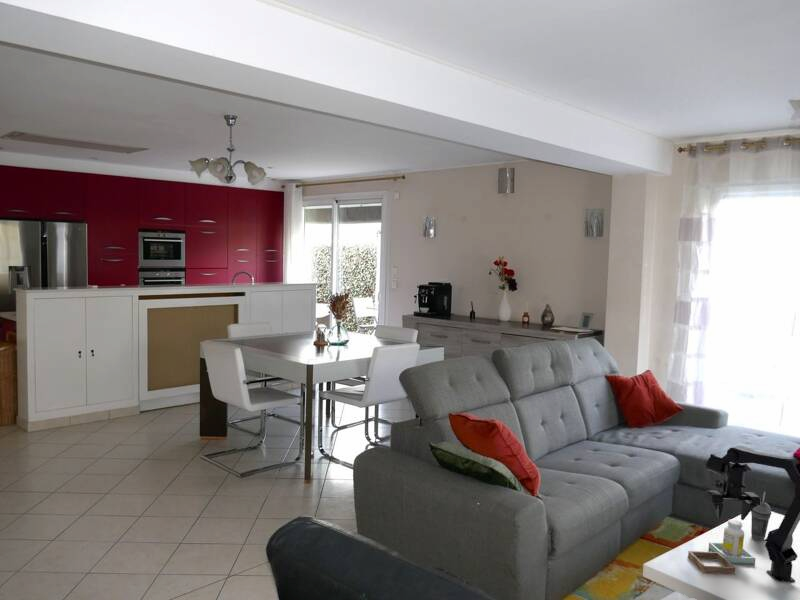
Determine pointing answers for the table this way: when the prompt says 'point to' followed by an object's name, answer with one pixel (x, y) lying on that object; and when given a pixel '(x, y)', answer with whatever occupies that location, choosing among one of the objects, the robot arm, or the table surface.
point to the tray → (745, 558)
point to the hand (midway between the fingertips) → (730, 519)
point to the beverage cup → (760, 520)
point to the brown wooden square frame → (728, 568)
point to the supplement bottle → (733, 539)
